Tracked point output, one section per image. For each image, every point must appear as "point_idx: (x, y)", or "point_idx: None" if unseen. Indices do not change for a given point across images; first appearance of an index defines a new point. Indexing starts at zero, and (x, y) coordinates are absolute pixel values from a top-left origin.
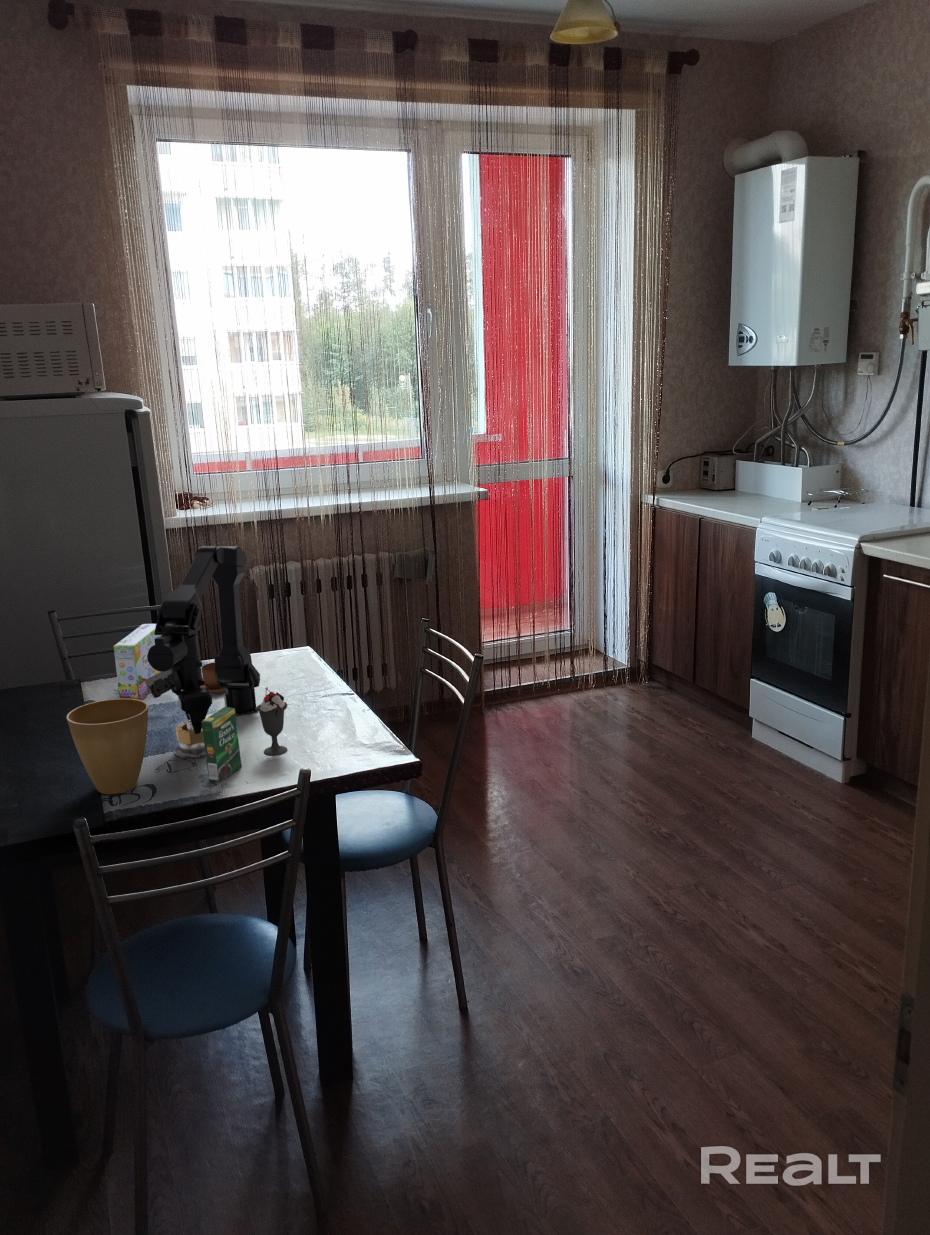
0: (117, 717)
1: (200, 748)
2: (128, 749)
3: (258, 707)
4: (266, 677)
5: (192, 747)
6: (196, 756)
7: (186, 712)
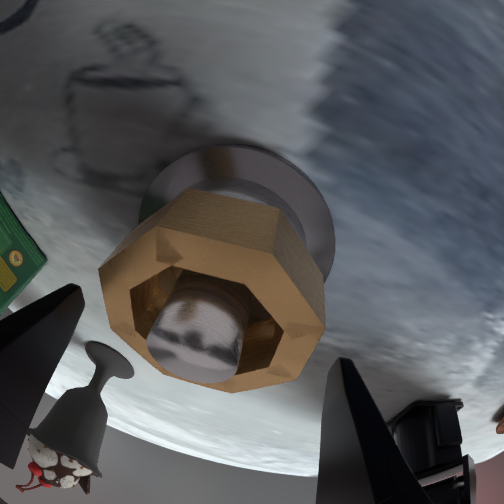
0: None
1: None
2: None
3: (57, 451)
4: (479, 443)
5: None
6: (141, 210)
7: (344, 402)
